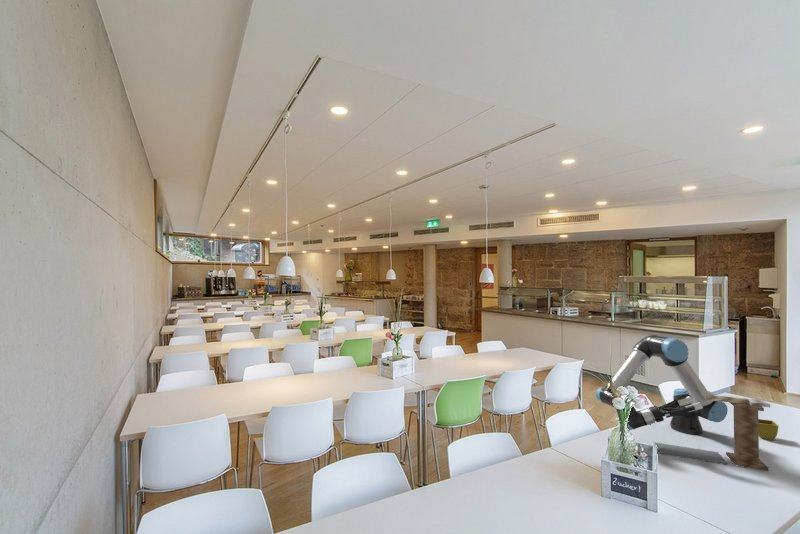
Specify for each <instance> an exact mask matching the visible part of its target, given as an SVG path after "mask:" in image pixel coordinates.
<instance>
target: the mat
mask: <svg viewBox="0 0 800 534" xmlns="http://www.w3.org/2000/svg"><path fill="white" fill-rule="evenodd" d="M654 445H655V446H656V445H657V447H658V449H657V451H658V453H659V454H662V455H665V456H672V457H679V458H685V459H690V460H696V459H697V460H696V461H702V460H704V461H703V462H708V461H710V463H714V462H717V463H716V464H720V463H723V464H722V465H727V464H728V462H727V460H725V458H724V457H723V456H722V455H721V454H720V452H718V451H714V450H713V451H712V450H706V449H699V448H693V447H687V446H682V445H681V446H680V445H674V444H668V443H661V442H656V441H655V442H654ZM657 447H656V448H657Z"/></svg>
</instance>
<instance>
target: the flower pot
mask: <svg viewBox="0 0 800 534" xmlns="http://www.w3.org/2000/svg"><path fill="white" fill-rule="evenodd" d="M758 426H759V438H760V439H761V438H762V439H763V440H769V441H774V440H775V439H776V438H777V436H778V433H779V431H778V430H779V425H778V424H777V423H776V422H775V421H773V420H769V419H760V418H758ZM762 439H761V440H762Z"/></svg>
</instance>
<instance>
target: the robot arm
mask: <svg viewBox="0 0 800 534" xmlns="http://www.w3.org/2000/svg"><path fill="white" fill-rule="evenodd" d="M689 353H690V352H689V348H688V346H687V344H686V343H685V342H684V340H683V341H682V340H681V339H678V338H675V337H670V336H662V335H657V334H651V335H647V336H645V337H643V338H642V339H640V340H639V341H638V342H637V343H636V344H635V345H634V346H633V347H632V348H631V353H629V355H628V357H627V358H626V359H625V361H624V362H623V363H622V364H621V366H620V367H619V369H618V370H617V371H616V372H615V373H614V375H613V376H612V377H611V379H612V381H613V386H614V389H617V388H618V387H619V386H623V387H627V385H628V384H629V383H630V381H631V380H632V378H633V377H635V375H636V373H637V372H638V371H639V370H640V369H641V367H642V366H643V364H644V363H645V362H646V361H649V360H650V359H651V358H652V357H657V358H660V359H661V360H662V362H663V363H664V365H666V366H667V367H670V369H671V370H672V371H673V373H674V374H675V376H676V378H677V379H678V380H679V382H680V383H681V385H682V387H684V388H675V389H674V390H673V396H672V399H673V400H672V401H669V402H667V403H665V404H663V405H660V406H656V405H654V406H653V405H652V406H650V407H649V408H647V407H646V408H643V409H640V410H636V408H634V407H635V406H634V407H632V408H631V411H630V415H629V418H628V421H629V422H628V423H627V428H628V429H629V430H628V431H631V430H636V429H639V428H642V427H646V426H652V425H653V424H656V423H660V422H663V421H664V420H665V419H664V417H665V418H667V419H668V418H671V420H670V422H669V423H670V424H669V427H670V426H671V427H670V428H671V429H673V430H674V431H677V432H680V433H685V434H690V435H701V433H702V432H704V431H703V429H704V428H703V426H702V423H701V421H700V418H701V419H705V420H708V421H709V422H714V423H721V422H722V421H724V420H725V419H726V418H727V415H728V406H727V404H726V402H722V401H712V400H707V399H706V395H714V393H713V392H712V391H710V390H708V389H707V388H706V386H705V385H704V383H703V382H702V381H701V379H700V378H699V376H698V375H697V373H696V371H695V370H694V368H693V367H692V365H691V364H690V363H689V361H688V358H689ZM609 382H610V380H609V381H608V383H607V384H606V385H605V387H598V389H597V390H596V391H595V398H596V399H597V401H599V402H601V403H603V404H605V405H608V406H610V407H612V408H614V406H613V403H612V399H613V396H612V392H611V389H610V383H609ZM714 396H715V395H714ZM702 434H703V433H702Z"/></svg>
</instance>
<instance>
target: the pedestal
mask: <svg viewBox="0 0 800 534" xmlns="http://www.w3.org/2000/svg"><path fill="white" fill-rule="evenodd" d="M728 403H729V404H731V405H732V406H733V452H730V451H729V452H728V451H725V456H726V455H727V456H728V457H729V458H730V459H729V458H728V457H727V456H726V457H727V458H728V459H729V460H730V462H731V463H732V464H735V465H738V466H737V467H741V466H744V467H743V468H747V467H750V468H749V469H754V468H755V469H754V470H761V471H767V472H769V467H768V466H767V464H765V463H764V462H763V461H762V459H760V446H759V445H760V441H759V440H760V439H759V438H760V437H759V426H758V419H759V412H764V411H765V407H761V406H751V405H750V404H743V403H733V402H728ZM735 465H734V466H735Z"/></svg>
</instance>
